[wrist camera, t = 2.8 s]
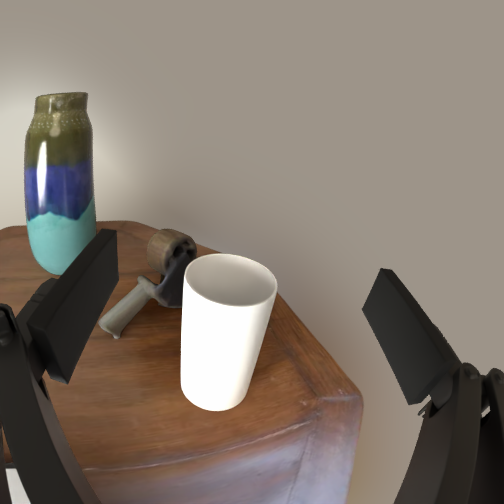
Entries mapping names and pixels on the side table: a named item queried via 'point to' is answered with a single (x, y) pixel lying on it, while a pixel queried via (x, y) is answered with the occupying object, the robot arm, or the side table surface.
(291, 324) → the side table surface
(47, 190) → the vase
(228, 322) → the cup
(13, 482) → the scale
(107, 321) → the grey two-tone handled device
